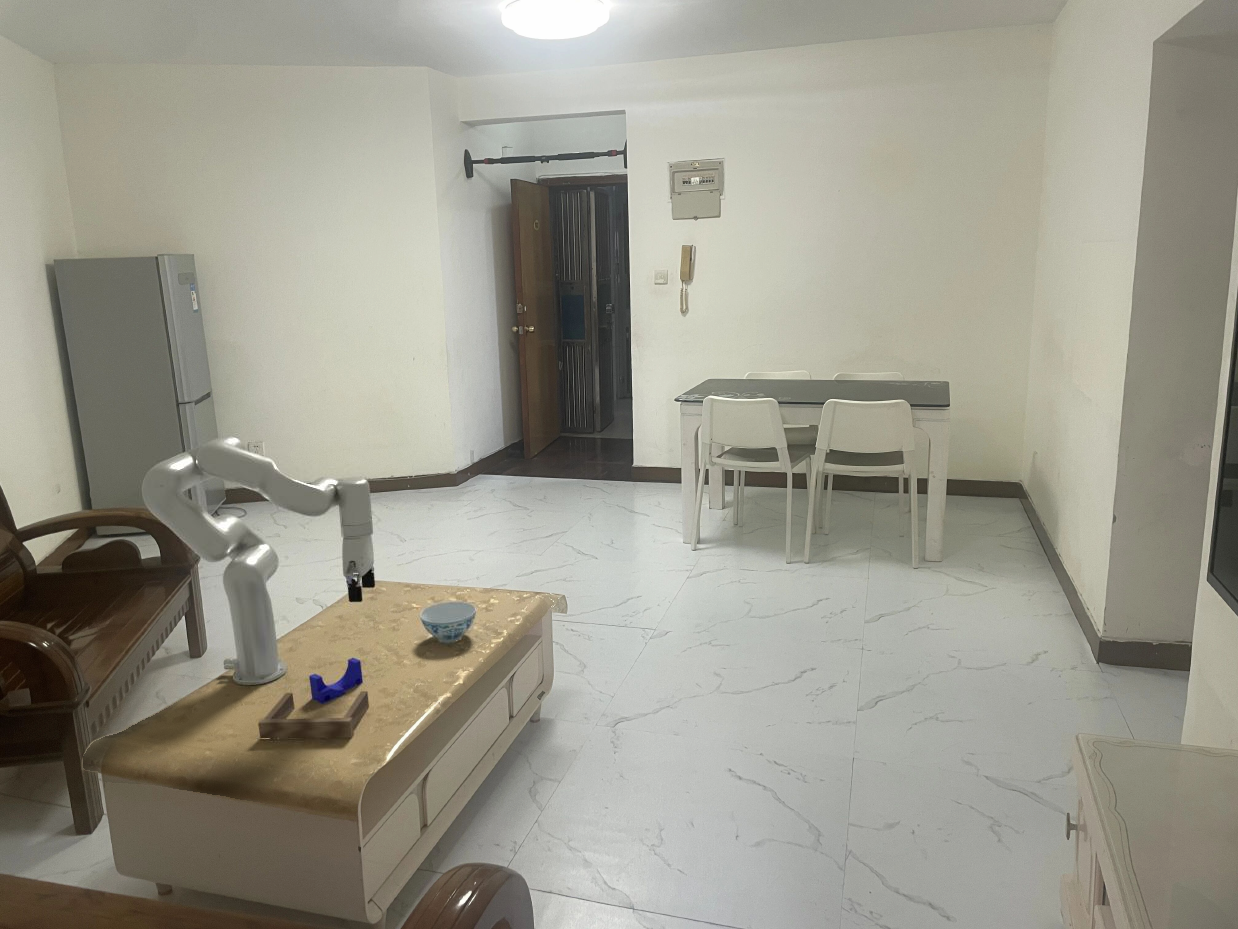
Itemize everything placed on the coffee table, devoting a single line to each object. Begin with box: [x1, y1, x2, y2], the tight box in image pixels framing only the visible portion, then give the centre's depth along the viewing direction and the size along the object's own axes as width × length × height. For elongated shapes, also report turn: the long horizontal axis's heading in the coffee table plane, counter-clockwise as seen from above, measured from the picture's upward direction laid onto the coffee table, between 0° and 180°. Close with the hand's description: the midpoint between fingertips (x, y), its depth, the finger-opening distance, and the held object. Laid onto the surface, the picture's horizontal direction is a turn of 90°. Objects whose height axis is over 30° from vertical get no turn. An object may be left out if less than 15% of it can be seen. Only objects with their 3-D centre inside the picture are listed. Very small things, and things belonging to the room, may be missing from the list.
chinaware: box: [419, 600, 477, 644], centre depth 232 cm, size 15×15×8 cm
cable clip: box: [308, 657, 364, 705], centre depth 203 cm, size 12×4×6 cm, turn 141°
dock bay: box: [257, 690, 370, 740], centre depth 189 cm, size 20×14×4 cm
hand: (362, 594), depth 212 cm, fingers open, 9 cm apart
